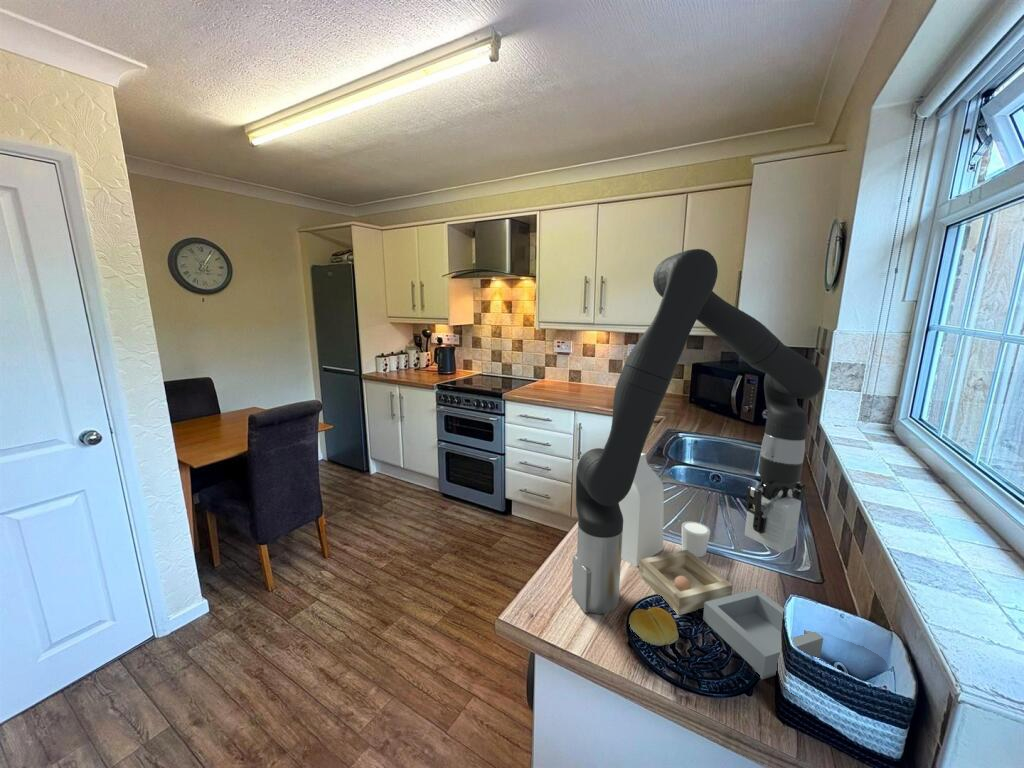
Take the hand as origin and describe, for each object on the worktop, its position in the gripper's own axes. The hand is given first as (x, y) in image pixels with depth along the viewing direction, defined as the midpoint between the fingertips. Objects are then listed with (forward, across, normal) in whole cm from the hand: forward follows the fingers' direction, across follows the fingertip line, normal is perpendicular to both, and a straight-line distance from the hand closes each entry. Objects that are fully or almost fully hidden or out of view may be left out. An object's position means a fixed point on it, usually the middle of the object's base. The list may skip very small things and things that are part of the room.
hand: (770, 529), depth 87 cm
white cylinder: (+16, -4, +17) cm, 23 cm away
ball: (+15, -18, +5) cm, 24 cm away
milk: (+16, -18, +23) cm, 34 cm away
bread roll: (+16, -30, -2) cm, 34 cm away
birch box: (+16, -16, +6) cm, 23 cm away
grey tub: (+16, -12, -10) cm, 22 cm away
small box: (+3, 0, 0) cm, 3 cm away
